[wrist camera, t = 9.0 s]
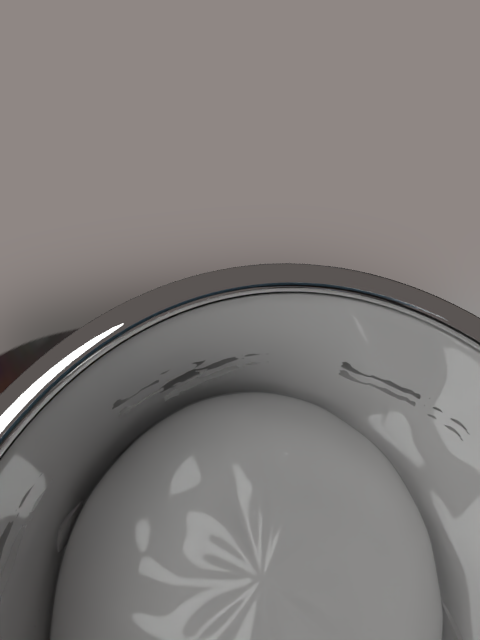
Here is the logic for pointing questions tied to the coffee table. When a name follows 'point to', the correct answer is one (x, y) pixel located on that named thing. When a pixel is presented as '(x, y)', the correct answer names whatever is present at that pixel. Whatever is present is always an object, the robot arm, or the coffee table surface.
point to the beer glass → (248, 465)
